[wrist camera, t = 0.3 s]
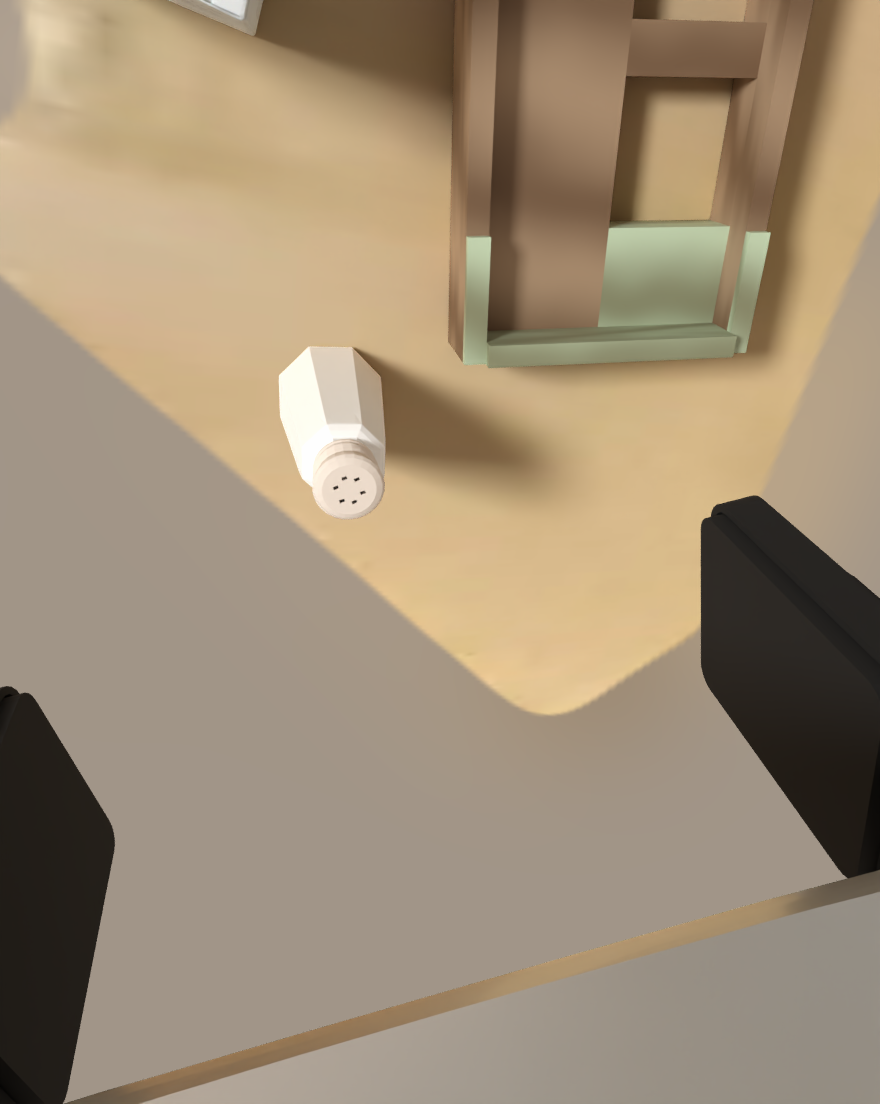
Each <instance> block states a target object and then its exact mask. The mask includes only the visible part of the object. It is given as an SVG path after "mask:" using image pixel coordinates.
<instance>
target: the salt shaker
mask: <svg viewBox="0 0 880 1104" xmlns="http://www.w3.org/2000/svg"><path fill="white" fill-rule="evenodd" d="M279 394H280V417H281V420H282V423H283V426H284V429H285V432H286V435H287V437H288V440H289V443H290V446H291V449H292V452H293V455H294V458H295V461H296V464H297V467H298V470H299V472H300V474H301V476H302V478H303V480H305V481H306V482H307V483H308V484H309V485H310V486H311V487H313V495H314V498H315V501H316V502H317V504H318V505H319V507H320V508H321V509H322V510H323V511H324V512H326V513H327V514H329V515H331V516H333V517H335V518H340V519H355V518H359V517H363V516H364V515H366V514H368V513H370V512H371V511H372V510H373V509H375V508H376V507H377V505H378V504H379V502H380V501H381V499H382V497H383V494H384V486H385V482H384V473H385V426H384V412H383V398H382V385H381V376H380V375H379V374H378V373H377V372H376V371H375V370H374V369H373V368H372V367H371V366H370V365H369V364H368V363H367V362H366V361H365V360H364V359H363V358H362V357H361V356H360V355H359V354H358V353H357V352H356V351H355V350H354V349H353V348H352V347H313V346H309V347H308V348H307V349H306V350H305V351H304V352H303V353H302V354H301V355H300V356H299V357H298V358H297V359H296V360H295V361H294V362H293V363H291V364H290V365H289V366H288V367H287V368H286V369H285V370H284V371H283V372H282V373H281V374H280V375H279Z"/></svg>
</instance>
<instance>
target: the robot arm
mask: <svg viewBox="0 0 880 1104" xmlns="http://www.w3.org/2000/svg"><path fill="white" fill-rule="evenodd" d="M701 667H702V672H703V675H704V678H705V681H706V683H707V685H708V687H709V688H710V690H711V692H712V693H713V694H714V696H715V697H716V698H717V699H718V701H719V703H720V704H721V705H722V707H723V708H724V710H725V711H726V712H727V714H728V715H729V717H730V718H731V719H732V721H733V722H734V723H735V725H736V726H737V728H738V729H739V731H740V732H741V733H742V735H743V736H744V738H745V739H746V740H747V742H748V743H749V744H750V746H751V747H752V749H753V750H754V752H755V753H756V754H757V756H758V757H759V758H760V760H761V761H762V763H763V764H764V766H765V767H766V768H767V770H768V771H769V773H770V774H771V775H772V777H773V778H774V780H775V781H776V782H777V784H778V785H779V787H780V788H781V789H782V791H783V792H784V794H785V795H786V796H787V798H788V799H789V801H790V802H791V803H792V805H793V806H794V808H795V809H796V810H797V812H798V813H799V815H800V816H801V817H802V819H803V820H804V822H805V823H806V824H807V826H808V827H809V828H810V830H811V831H812V833H813V834H814V836H815V837H816V838H817V840H818V841H819V842H820V844H821V845H822V847H823V848H824V849H825V851H826V852H827V854H828V855H829V856H830V858H831V859H832V861H833V862H834V863H835V865H836V866H837V868H838V869H839V870H840V871H841V873H842V874H843V875H845V876H846V877H847V878H848V879H844V880H841V881H837V882H833V883H829V884H825V885H822V886H818V887H814V888H810V889H806V890H803V891H799V892H795V893H791V894H788V895H784V896H780V897H776V898H772V899H769V900H765V901H761V902H758V903H754V904H751V905H747V906H744V907H740V908H737V909H733V910H729V911H726V912H722V913H719V914H715V915H712V916H708V917H705V918H702V919H698V920H694V921H691V922H687V923H684V924H680V925H676V926H673V927H669V928H666V929H662V930H659V931H655V932H652V933H648V934H645V935H641V936H638V937H634V938H631V939H627V940H623V941H620V942H616V943H613V944H610V945H606V946H602V947H599V948H595V949H592V950H588V951H584V952H581V953H578V954H574V955H570V956H567V957H564V958H560V959H557V960H553V961H550V962H546V963H543V964H539V965H536V966H532V967H529V968H525V969H522V970H518V971H515V972H511V973H508V974H504V975H501V976H497V977H494V978H490V979H487V980H483V981H480V982H477V983H473V984H469V985H466V986H463V987H459V988H456V989H452V990H449V991H445V992H442V993H438V994H435V995H431V996H428V997H424V998H421V999H417V1000H414V1001H411V1002H407V1003H404V1004H400V1005H397V1006H393V1007H390V1008H386V1009H383V1010H379V1011H376V1012H373V1013H370V1014H366V1015H363V1016H359V1017H355V1018H352V1019H349V1020H345V1021H342V1022H338V1023H335V1024H331V1025H328V1026H324V1027H321V1028H317V1029H314V1030H310V1031H307V1032H304V1033H301V1034H297V1035H293V1036H290V1037H287V1038H283V1039H280V1040H276V1041H273V1042H270V1043H266V1044H263V1045H260V1046H256V1047H253V1048H249V1049H246V1050H243V1051H239V1052H236V1053H232V1054H229V1055H226V1056H222V1057H219V1058H216V1059H212V1060H209V1061H205V1062H202V1063H198V1064H195V1065H192V1066H188V1067H185V1068H181V1069H178V1070H175V1071H171V1072H168V1073H165V1074H162V1075H158V1076H154V1077H151V1078H147V1079H144V1080H141V1081H137V1082H134V1083H131V1084H127V1085H124V1086H120V1087H117V1088H113V1089H110V1090H107V1091H103V1092H100V1093H97V1094H94V1095H90V1096H87V1097H84V1098H81V1099H77V1100H74V1101H71V1102H68V1103H65V1104H880V598H879V597H877V596H876V595H875V594H874V593H873V592H872V591H871V590H869V589H868V588H867V587H866V586H865V585H864V584H862V583H861V582H860V581H859V580H858V579H857V578H855V577H854V576H852V575H851V574H849V573H848V572H846V571H845V570H844V569H843V568H842V567H841V566H839V565H838V564H837V563H836V562H835V561H833V560H832V559H831V558H830V557H829V556H828V555H827V554H826V553H824V552H823V551H822V550H821V549H820V548H819V547H818V546H816V545H815V544H814V543H813V542H812V541H810V540H809V539H808V538H807V537H806V536H805V535H804V534H802V533H801V532H800V531H799V530H798V529H797V528H796V527H794V526H793V525H792V524H791V523H790V522H789V521H787V520H786V519H785V518H784V517H783V516H782V515H781V514H779V513H778V512H777V511H776V510H775V509H774V508H772V507H771V506H770V505H769V504H768V503H767V502H766V501H764V500H763V499H762V498H760V497H759V496H749V497H745V498H742V499H738V500H734V501H730V502H726V503H722V504H718V505H716V506H715V507H714V508H713V510H712V513H711V517H709V518H705V519H704V520H703V521H702V524H701ZM114 839H115V838H114V832H113V829H112V825H111V823H110V821H109V819H108V818H107V816H106V814H105V813H104V811H103V810H102V808H101V807H100V805H99V803H98V801H97V800H96V798H95V796H94V795H93V793H92V792H91V790H90V788H89V787H88V785H87V783H86V782H85V780H84V779H83V777H82V775H81V774H80V772H79V770H78V769H77V767H76V765H75V764H74V762H73V760H72V759H71V757H70V756H69V754H68V752H67V751H66V749H65V748H64V746H63V744H62V743H61V741H60V739H59V738H58V736H57V734H56V733H55V731H54V730H53V728H52V726H51V725H50V723H49V721H48V720H47V718H46V716H45V715H44V713H43V712H42V710H41V708H40V707H39V705H38V703H37V702H36V700H35V699H34V698H33V696H32V695H30V694H29V693H22V694H19V693H18V691H17V690H15V689H14V688H12V687H9V686H6V687H1V688H0V1104H63V1102H64V1100H65V1097H66V1094H67V1090H68V1085H69V1080H70V1075H71V1070H72V1065H73V1059H74V1054H75V1049H76V1044H77V1039H78V1033H79V1029H80V1024H81V1018H82V1013H83V1008H84V1003H85V998H86V993H87V988H88V983H89V977H90V972H91V967H92V962H93V957H94V952H95V947H96V941H97V936H98V931H99V926H100V920H101V916H102V911H103V905H104V900H105V895H106V890H107V884H108V879H109V875H110V870H111V869H110V868H111V864H112V859H113V854H114V847H115V840H114Z"/></svg>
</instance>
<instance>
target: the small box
mask: <svg viewBox="0 0 880 1104" xmlns="http://www.w3.org/2000/svg"><path fill="white" fill-rule="evenodd" d="M168 1H171V2H173V3H175V4H178V5H180V6H182V7H185V8H187V9H189V10H192V11H194V12H197V13H199V14H201V15H204V16H206V17H208V18H211V19H213V20H216V21H218V22H220V23H223V24H225V25H228V26H230V27H232V28H235V29H237V30H240V31H242V32H244V33H247V34H249V35H252V36H253V35H255V34H256V30H257V25H258V21H259V16H260V12H261V8H262V4H263V0H168Z"/></svg>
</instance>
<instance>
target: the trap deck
mask: <svg viewBox="0 0 880 1104" xmlns="http://www.w3.org/2000/svg"><path fill="white" fill-rule="evenodd" d="M813 1H814V0H748V1H747V7H746V13H745V19H744V22H723V21H689V20H655V19H632V18H633V9H634V0H455V8H454V62H453V115H452V169H451V223H450V277H449V331H448V342H449V343H450V345H451V346H452V348H453V349H454V350H455V352H456V353H457V355H458V356H459V358H460V359H461V361H462V362H463V363H464V365H477V364H486V365H487V366H488V368H502V367H525V366H547V365H570V364H592V363H614V362H637V361H659V360H681V359H704V358H726V357H733V354H734V353H746V349H747V345H748V340H749V335H750V330H751V325H752V321H753V316H754V311H755V306H756V301H757V297H758V292H759V287H760V282H761V278H762V273H763V268H764V263H765V258H766V254H767V249H768V244H769V239H770V234H771V232H767V231H766V230H767V225H768V220H769V215H770V210H771V205H772V201H773V196H774V191H775V186H776V181H777V176H778V171H779V167H780V162H781V157H782V152H783V147H784V142H785V137H786V133H787V128H788V123H789V118H790V113H791V108H792V103H793V98H794V94H795V89H796V84H797V79H798V74H799V69H800V64H801V60H802V55H803V50H804V45H805V40H806V35H807V30H808V26H809V21H810V16H811V11H812V6H813ZM626 76H637V77H695V78H734V83H733V89H732V95H731V101H730V106H729V112H728V118H727V124H726V130H725V136H724V141H723V147H722V153H721V159H720V165H719V171H718V176H717V182H716V188H715V194H714V200H713V206H712V211H711V217H710V220H674V221H610V214H611V205H612V196H613V187H614V178H615V169H616V160H617V151H618V143H619V134H620V125H621V116H622V107H623V98H624V89H625V80H626Z"/></svg>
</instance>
